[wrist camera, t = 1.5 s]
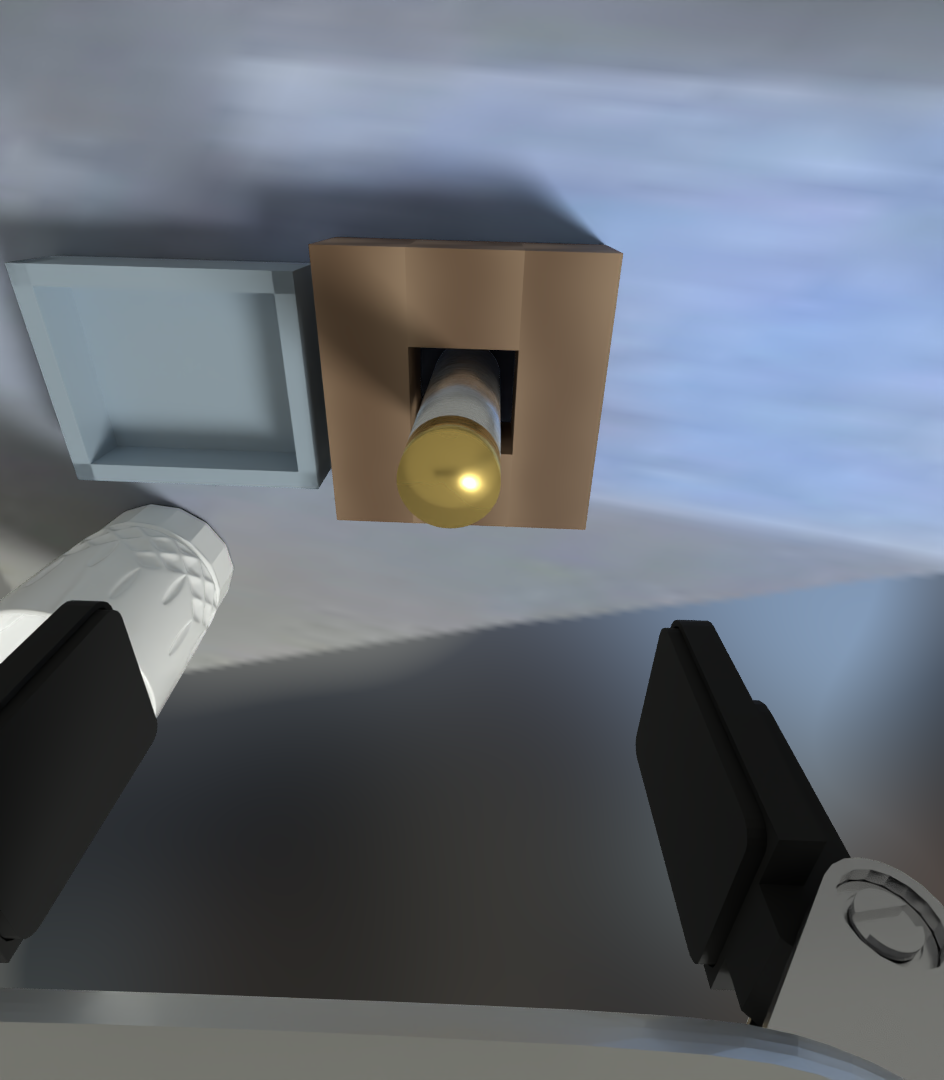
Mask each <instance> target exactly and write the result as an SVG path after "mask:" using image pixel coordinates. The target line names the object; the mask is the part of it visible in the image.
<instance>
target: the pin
mask: <svg viewBox="0 0 944 1080" xmlns="http://www.w3.org/2000/svg"><path fill="white" fill-rule="evenodd" d="M500 487H501V437H500V369H499V365H498V363H497V360H496V359H495V357H494V356H493V354H492V353H491V352H490V351H489V350H487V349H456V348H447V349H446V350H445V351H444V352H443V353H442V354H441V355H440V357H439V358H438V361H437V363H436V365H435V368H434V371H433V374H432V376H431V379H430V382H429V384H428V387H427V390H426V392H425V395H424V398H423V401H422V403H421V406H420V409H419V411H418V414H417V417H416V420H415V422H414V425H413V428H412V430H411V433H410V436H409V439H408V441H407V444H406V447H405V449H404V452H403V455H402V457H401V460H400V463H399V466H398V470H397V488H398V492H399V495H400V497H401V499H402V501H403V503H404V504H405V506H406V507H407V508H408V510H409V511H410V512H411V513H412V514H413V515H415V516H416V517H417V518H419V519H420V520H422V521H423V522H426V523H428V524H430V525H433V526H436V527H441V528H460V527H464V526H468V525H471V524H473V523H475V522H477V521H479V520H480V519H482V518H483V517H484V516H486V515H487V514H488V513H489V512H490V510H491V509H492V508H493V506H494V505H495V503H496V501H497V499H498V496H499V493H500Z"/></svg>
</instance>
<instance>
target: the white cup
mask: <svg viewBox="0 0 944 1080" xmlns="http://www.w3.org/2000/svg"><path fill="white" fill-rule="evenodd" d="M232 573H233V565H232V562H231V559H230V555H229V552H228V549H227V546H226V544H225V543H224V542H223V541H222V540H221V538H220V537H219V536H218V535H217V534H216V533H215V532H214V530H213V529H212V528H211V527H210V526H209V525H208V524H207V523H206V522H204V521H202V520H200V519H198V518H197V517H195V516H193V515H191V514H189V513H187V512H186V511H184V510H182V509H180V508H174V507H167V506H160V505H154V504H149V505H145V506H142V507H138V508H135V509H131V510H128V511H125V512H123V513H122V514H121V515H119V516H118V517H117V518H115V519H114V520H113V521H112V522H110V523H109V524H108V525H106V526H105V527H104V528H102V529H101V530H100V531H98V532H96V533H94V534H92V535H91V536H89V537H87V538H85V539H84V540H82V541H81V542H79V543H78V544H77V545H75V546H74V547H73V548H71V549H70V550H69V551H68V552H66V553H64V554H62V555H61V556H59V557H58V558H56V559H55V560H53V561H52V562H51V563H49V564H48V565H47V566H45V567H44V568H43V569H41V570H40V571H39V572H37V573H36V574H35V575H33V576H32V577H31V578H29V579H28V580H26V581H25V582H24V583H22V584H21V585H20V586H18V587H17V588H16V589H14V590H13V591H12V592H10V593H9V594H8V595H6V596H5V597H4V598H2V599H1V600H0V663H2V662H3V661H4V660H5V659H6V658H7V657H8V656H9V655H10V654H11V653H12V652H13V651H14V650H15V649H16V648H17V647H18V646H19V645H20V644H21V643H22V642H23V641H25V640H26V639H27V638H28V637H29V636H30V635H31V634H32V633H33V632H34V631H35V630H36V629H37V628H38V627H39V626H40V625H41V624H42V623H43V622H44V621H45V620H47V619H48V618H49V617H50V616H51V615H52V614H53V613H54V612H55V611H56V610H57V609H58V608H59V607H60V606H61V605H62V604H64V603H65V602H67V601H71V600H83V601H104V602H108V603H109V604H110V605H111V606H112V608H113V610H116V611H118V612H119V613H120V614H121V616H122V618H123V621H124V624H125V627H126V630H127V633H128V636H129V639H130V642H131V645H132V648H133V651H134V654H135V657H136V659H137V662H138V665H139V668H140V671H141V674H142V677H143V680H144V683H145V686H146V689H147V692H148V695H149V698H150V701H151V704H152V707H153V710H154V713H155V716H156V718H157V716H158V715H159V713H160V711H161V710H162V708H163V706H164V704H165V703H166V701H167V699H168V697H169V696H170V694H171V692H172V691H173V689H174V687H175V686H176V684H177V682H178V680H179V679H180V677H181V675H182V674H183V672H184V670H185V669H186V667H187V665H188V664H189V662H190V660H191V658H192V657H193V655H194V653H195V651H196V650H197V648H198V646H199V644H200V642H201V640H202V638H203V636H204V634H205V633H206V631H207V630H208V628H209V626H210V624H211V622H212V620H213V617H214V615H215V612H216V610H217V608H218V607H219V605H220V604H221V602H222V600H223V599H224V597H225V595H226V594H227V592H228V590H229V587H230V582H231V578H232Z"/></svg>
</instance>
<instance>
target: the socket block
mask: <svg viewBox="0 0 944 1080" xmlns="http://www.w3.org/2000/svg"><path fill="white" fill-rule="evenodd" d="M308 245H309V255H310V264H311V274H312V283H313V293H314V303H315V312H316V322H317V331H318V341H319V351H320V360H321V370H322V379H323V389H324V399H325V408H326V418H327V427H328V437H329V447H330V456H331V466H332V475H333V485H334V495H335V504H336V514H337V520H353V521H378V522H404V523H426V522H423V521H422V520H420V519H419V518H417V517H416V516H415V515H413V514H412V513H411V512H410V511H409V510H408V508H407V507H406V506H405V504H404V503H403V501H402V499H401V497H400V495H399V492H398V488H397V470H398V466H399V463H400V460H401V457H402V455H403V452H404V449H405V447H406V444H407V441H408V439H409V436H410V433H411V430H412V428H413V425H414V422H415V420H416V417H417V414H418V411H419V409H420V406H421V403H422V397H421V347H426V348H456V349H487V350H515V360H514V377H513V394H512V411H511V422H500V437H501V487H500V493H499V496H498V499H497V501H496V503H495V505H494V506H493V508H492V509H491V510H490V512H489V513H488V514H487V515H486V516H484V517H483V518H482V519H480V520H479V521H477V522H475V523H473V524H471V525H480V526H505V527H531V528H556V529H581V530H585V528H586V521H587V513H588V506H589V499H590V491H591V484H592V477H593V469H594V462H595V455H596V448H597V440H598V433H599V426H600V418H601V411H602V404H603V396H604V389H605V382H606V375H607V367H608V360H609V353H610V345H611V338H612V331H613V323H614V316H615V309H616V302H617V294H618V287H619V280H620V272H621V265H622V258H623V253H621V252H619V251H617V250H615V249H613V248H611V247H609V246H607V245H597V244H562V243H527V242H492V241H457V240H422V239H387V238H352V237H334V238H330V239H326V240H323V241H319V242H315V243H312V244H308Z"/></svg>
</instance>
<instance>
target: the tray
mask: <svg viewBox="0 0 944 1080" xmlns="http://www.w3.org/2000/svg"><path fill="white" fill-rule="evenodd" d="M5 266H6V269H7V272H8V275H9V278H10V281H11V284H12V287H13V290H14V293H15V296H16V298H17V301H18V304H19V307H20V310H21V313H22V316H23V319H24V322H25V325H26V328H27V331H28V334H29V337H30V340H31V342H32V345H33V348H34V351H35V354H36V357H37V360H38V363H39V366H40V369H41V372H42V375H43V378H44V381H45V384H46V386H47V389H48V392H49V395H50V398H51V401H52V404H53V407H54V410H55V413H56V416H57V419H58V422H59V425H60V427H61V430H62V433H63V436H64V439H65V442H66V445H67V448H68V451H69V454H70V457H71V460H72V463H73V466H74V469H75V471H76V474H77V477H78V480H96V481H122V482H148V483H175V484H201V485H227V486H253V487H279V488H305V489H319V487H320V485H321V484H322V482H323V480H324V479H325V477H326V476H327V474H328V472H329V471H330V469H331V467H332V466H331V456H330V447H329V437H328V427H327V418H326V408H325V399H324V389H323V379H322V370H321V360H320V351H319V341H318V331H317V322H316V312H315V303H314V293H313V283H312V274H311V264H310V263H293V262H259V261H225V260H191V259H157V258H124V257H90V256H56V255H55V256H48V257H41V258H34V259H27V260H20V261H13V262H6V263H5Z"/></svg>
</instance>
